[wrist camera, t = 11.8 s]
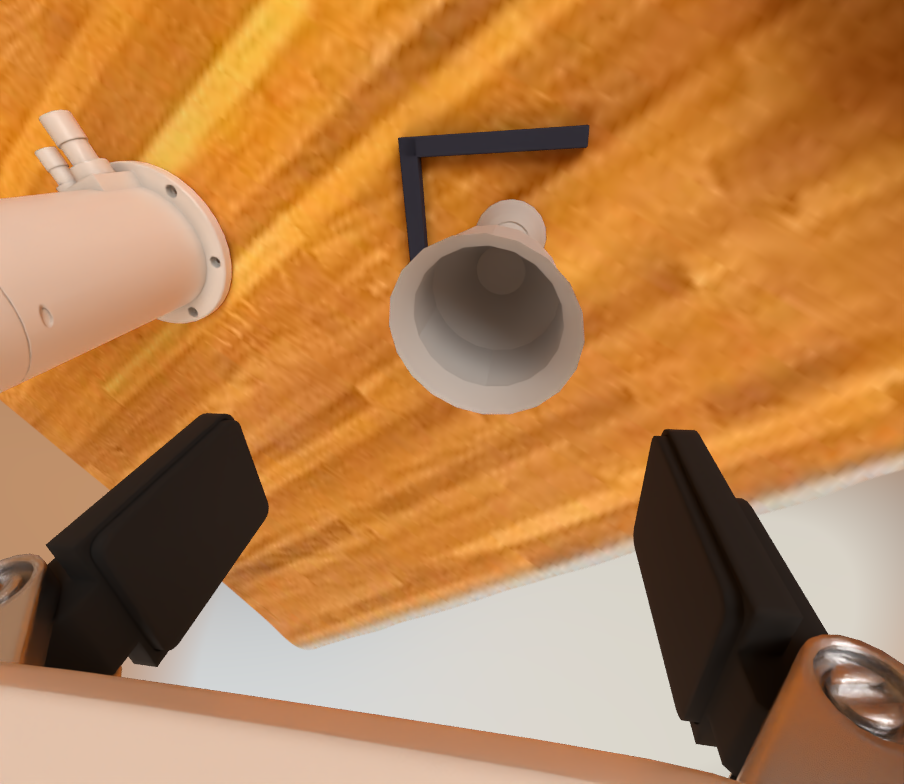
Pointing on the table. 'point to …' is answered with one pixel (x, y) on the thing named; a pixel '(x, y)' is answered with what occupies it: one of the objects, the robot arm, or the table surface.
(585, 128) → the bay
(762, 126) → the table surface
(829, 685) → the robot arm
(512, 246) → the chalice
